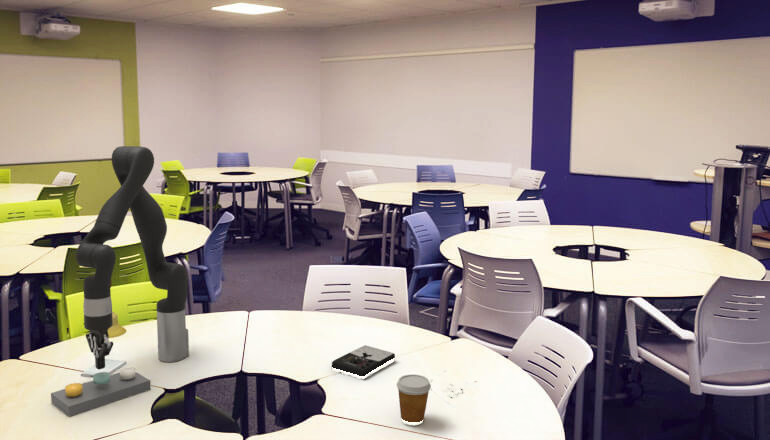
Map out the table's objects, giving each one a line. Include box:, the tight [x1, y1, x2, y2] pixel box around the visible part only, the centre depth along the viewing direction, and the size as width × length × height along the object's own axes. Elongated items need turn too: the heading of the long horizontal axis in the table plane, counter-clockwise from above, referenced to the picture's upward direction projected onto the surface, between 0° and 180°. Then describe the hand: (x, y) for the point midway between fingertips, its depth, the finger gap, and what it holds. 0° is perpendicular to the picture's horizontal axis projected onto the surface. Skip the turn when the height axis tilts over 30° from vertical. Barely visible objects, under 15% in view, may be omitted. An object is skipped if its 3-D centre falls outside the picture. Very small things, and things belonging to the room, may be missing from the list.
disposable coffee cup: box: [396, 374, 432, 422], centre depth 175 cm, size 10×10×12 cm
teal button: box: [92, 372, 111, 385], centre depth 185 cm, size 4×4×2 cm
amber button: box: [64, 382, 83, 396], centre depth 179 cm, size 4×4×2 cm
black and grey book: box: [331, 344, 396, 376], centre depth 213 cm, size 13×19×5 cm
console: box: [50, 371, 152, 417], centre depth 185 cm, size 24×12×3 cm, turn 139°
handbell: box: [108, 280, 127, 339], centre depth 235 cm, size 12×12×25 cm
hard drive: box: [80, 358, 128, 379], centre depth 204 cm, size 2×8×12 cm
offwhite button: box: [119, 366, 137, 379], centre depth 191 cm, size 4×4×2 cm
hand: (100, 368), depth 184 cm, fingers closed
